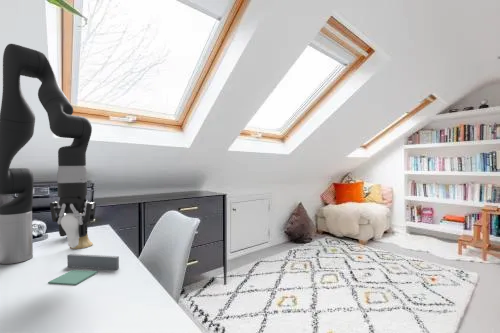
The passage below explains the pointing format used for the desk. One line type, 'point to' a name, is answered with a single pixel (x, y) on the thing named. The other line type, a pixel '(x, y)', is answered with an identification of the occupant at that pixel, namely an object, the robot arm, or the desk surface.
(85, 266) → the wall
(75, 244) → the lightbulb
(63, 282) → the pad
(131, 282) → the desk surface
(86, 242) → the hand bell
